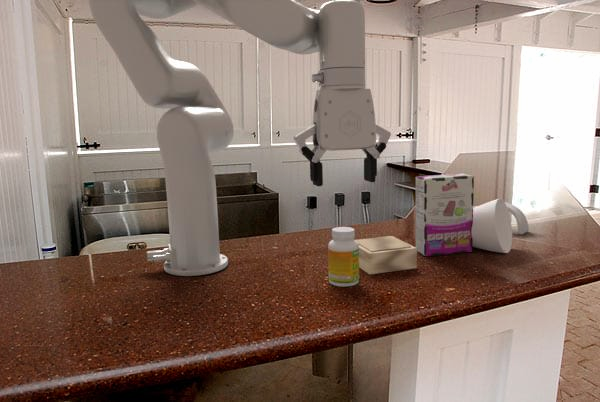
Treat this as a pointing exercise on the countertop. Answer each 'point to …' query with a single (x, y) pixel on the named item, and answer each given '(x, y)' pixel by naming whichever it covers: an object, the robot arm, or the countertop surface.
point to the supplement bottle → (343, 257)
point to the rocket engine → (492, 227)
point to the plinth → (386, 255)
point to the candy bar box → (444, 214)
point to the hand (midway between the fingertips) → (344, 183)
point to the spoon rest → (517, 218)
